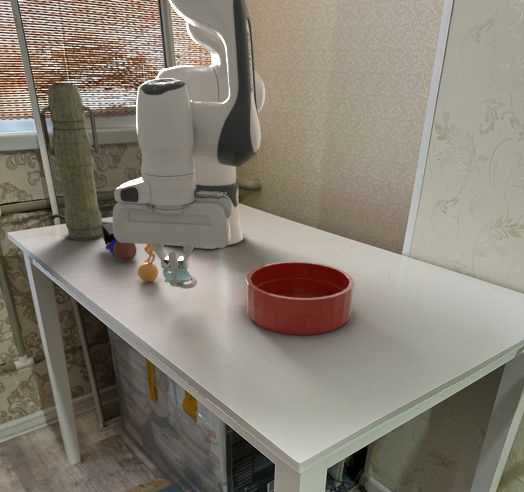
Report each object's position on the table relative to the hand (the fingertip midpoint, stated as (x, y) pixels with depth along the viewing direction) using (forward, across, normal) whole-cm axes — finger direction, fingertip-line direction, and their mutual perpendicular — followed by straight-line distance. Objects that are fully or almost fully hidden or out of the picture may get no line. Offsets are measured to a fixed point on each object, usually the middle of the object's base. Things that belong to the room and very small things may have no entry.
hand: (175, 267), depth 92 cm
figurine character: (+8, +20, -26) cm, 33 cm away
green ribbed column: (+8, +34, -40) cm, 53 cm away
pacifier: (+3, -1, +1) cm, 3 cm away
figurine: (+7, +8, -10) cm, 15 cm away
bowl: (+6, -23, +2) cm, 24 cm away
